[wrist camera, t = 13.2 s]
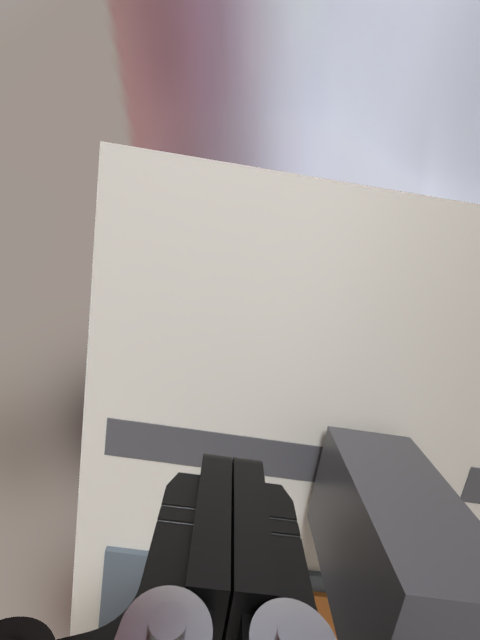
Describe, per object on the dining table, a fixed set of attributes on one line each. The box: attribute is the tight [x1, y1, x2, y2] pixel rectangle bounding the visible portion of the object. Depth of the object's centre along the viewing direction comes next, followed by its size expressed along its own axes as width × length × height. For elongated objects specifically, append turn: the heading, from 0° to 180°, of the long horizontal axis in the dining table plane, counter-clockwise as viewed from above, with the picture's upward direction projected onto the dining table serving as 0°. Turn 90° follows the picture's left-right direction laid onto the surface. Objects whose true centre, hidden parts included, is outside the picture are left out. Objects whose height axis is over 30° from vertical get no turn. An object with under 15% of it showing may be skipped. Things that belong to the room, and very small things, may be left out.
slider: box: [307, 426, 480, 640], centre depth 8 cm, size 3×2×5 cm
